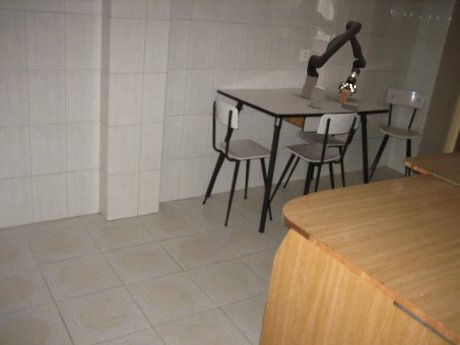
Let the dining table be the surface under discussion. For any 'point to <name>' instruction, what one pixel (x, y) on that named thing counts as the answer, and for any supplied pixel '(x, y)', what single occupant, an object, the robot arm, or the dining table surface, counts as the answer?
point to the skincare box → (317, 97)
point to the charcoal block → (350, 106)
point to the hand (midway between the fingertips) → (344, 94)
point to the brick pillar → (343, 96)
